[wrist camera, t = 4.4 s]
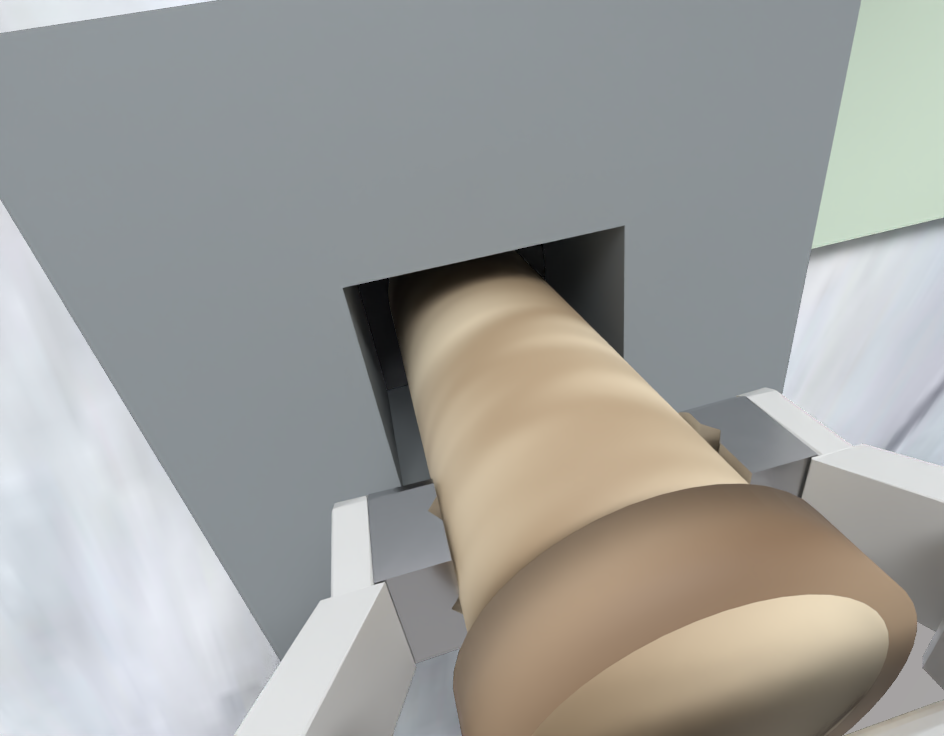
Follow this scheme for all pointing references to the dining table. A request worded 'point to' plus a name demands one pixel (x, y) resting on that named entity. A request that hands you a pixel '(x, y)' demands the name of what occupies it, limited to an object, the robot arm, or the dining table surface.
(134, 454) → the dining table surface
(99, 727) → the dining table surface
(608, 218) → the socket
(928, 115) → the mat
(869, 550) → the robot arm
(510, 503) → the plug
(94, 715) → the dining table surface
